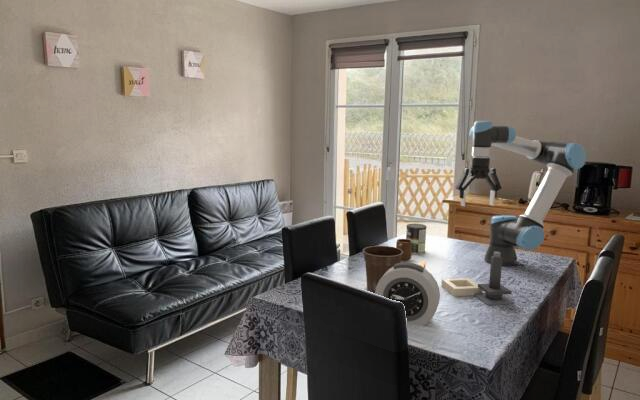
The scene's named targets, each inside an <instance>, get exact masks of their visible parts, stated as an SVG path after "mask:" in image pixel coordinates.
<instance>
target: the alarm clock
mask: <svg viewBox="0 0 640 400" xmlns="http://www.w3.org/2000/svg"><path fill="white" fill-rule="evenodd" d="M440 293H441V292H440V286H439V284H438V282H437V280H436V279H435V277H434V276H433V274H432V273H431V272H429V271H428V270H427V269H426V268H425V269H424V268H423V267H422V266H420V264H417V263H414V262H408V261H403V262H400V263H397V264H395V265H394V267H392V268H390V269H389V270H388V271H387V272H386V273H385V274H384V275H383V277H382V278H381V279H380V280H379V282H378V284H377V286H376V290H375V292H374V295H375V294H378V295H381V296H384V297H386V298H389V299H392V300H396V301H400V302H402V303H403V304H404V306H405V311H406V318H407V323H406V324H409V325H410V324H411V325H415V326H416V325H417V326H421V325H422V326H423V327H424V326H426V325H427V324H428V323H429V322H430V321H431V320H432V319H433V318H434V316H435V315H436V312H437V309H438V307H439V304H440V299H441V294H440Z"/></svg>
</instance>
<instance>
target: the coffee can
mask: <svg viewBox="0 0 640 400" xmlns="http://www.w3.org/2000/svg"><path fill="white" fill-rule="evenodd" d="M405 234H406V236H405V239H408V240H411V241H412V252H411V255H422V254H425V253H426V240H427V239H426V238H427V225H425V224H423V223H407V224H406V233H405Z"/></svg>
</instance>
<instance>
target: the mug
mask: <svg viewBox="0 0 640 400" xmlns="http://www.w3.org/2000/svg"><path fill="white" fill-rule="evenodd" d="M395 245H396V246H395V248H399V249H401V250H402V251H403V254H402V257H401V262H402V261H403V262H408V261H410V260H411V259H412V254H411V252H412V241H411V240H408V239H406V238H399V239H398V238H397V240H396V243H395Z"/></svg>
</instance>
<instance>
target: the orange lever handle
mask: <svg viewBox="0 0 640 400" xmlns="http://www.w3.org/2000/svg"><path fill="white" fill-rule="evenodd" d="M419 265H420V266H422V267H423V268H424V269H426V261H420V262H419Z"/></svg>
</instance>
